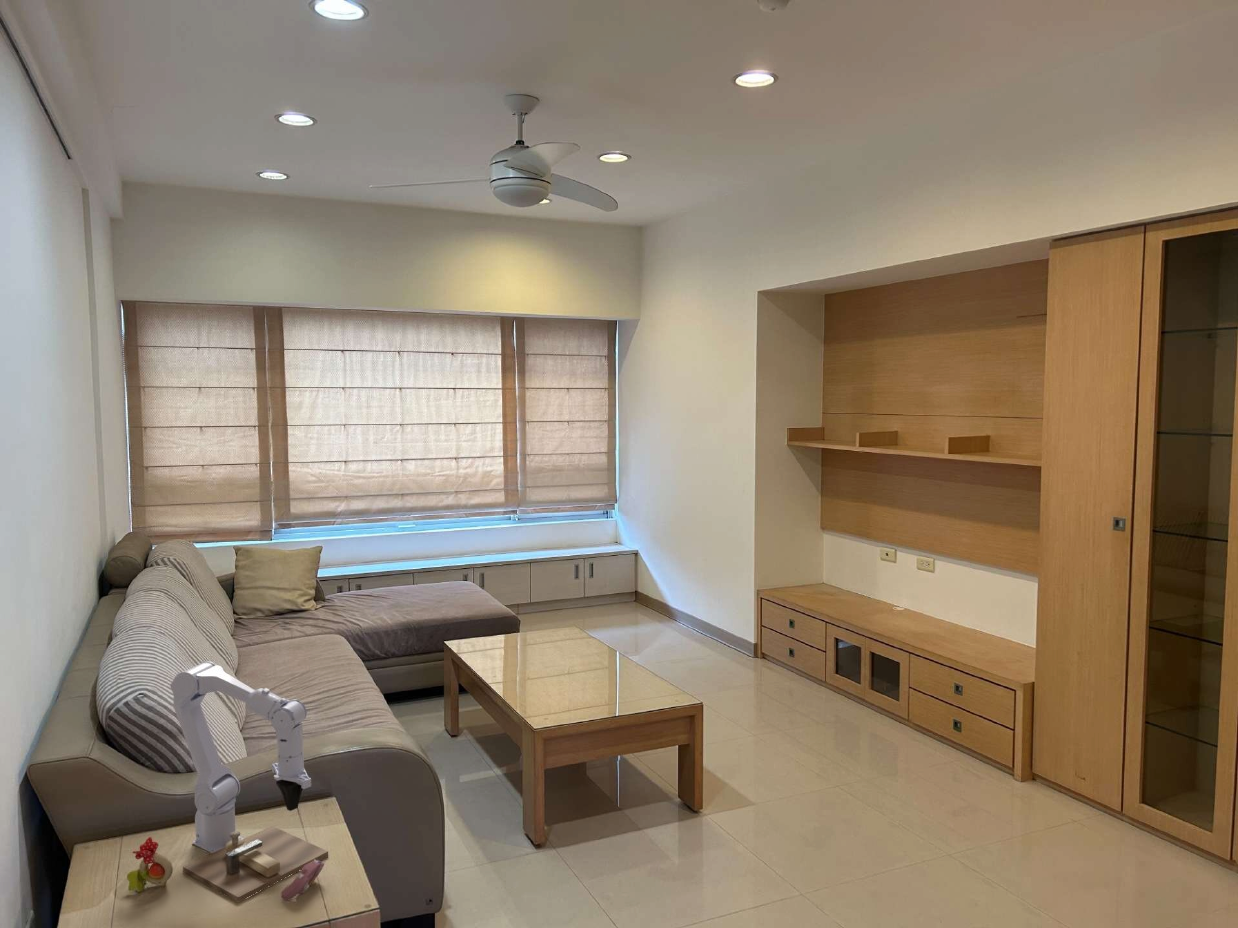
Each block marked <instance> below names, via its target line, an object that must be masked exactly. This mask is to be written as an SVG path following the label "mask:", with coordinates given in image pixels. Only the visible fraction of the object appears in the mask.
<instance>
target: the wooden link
mask: <svg viewBox="0 0 1238 928" xmlns="http://www.w3.org/2000/svg"><path fill="white" fill-rule="evenodd" d="M238 836H239V837H241V831H239V830H236V831H234V832H232V833H230V837H231V838H232V841H230V842H228V843H227V844H226V853H229V852H231V851H233V850H235V849H237V848H239V847H241V846H244V845H246V843H245V841H244V840H242V839H238ZM239 861H241V862H242V863H244V864H246V865H247V866H249V867H251V868H252V869H254V870H256V871H258V872H259V873H261V874H263V875H264V876H266V877H270V876H272V875H274V874H276V873H278V872H280V862H278V861H277V860H275V859H273V858H271V857H269V856H268V855H266V854H264V853H262V852H260V851H259V850H257V849H255V850H253V851H250V852H248V853H246V854H244V855H242V856H240V857H239Z"/></svg>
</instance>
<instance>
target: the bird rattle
mask: <svg viewBox="0 0 1238 928" xmlns="http://www.w3.org/2000/svg"><path fill="white" fill-rule="evenodd" d="M159 846H160V845H159V843H158V842H157V841H153V837H152V836H149V837H148V838H147V839H146V840H145V842H144V843H143V844H140V845H139V850H134V851H132V854H135V856H134V858H135V859H136V860H140V859H141V861H140V863H139V869H134V870H132V871H130V872H128V873H127V875H126V879H127V881H128V882H129V883H128V891H130V892H131V891H133V890H135V889H136V891H138V892H139V893H141V892H143V891H144V889H145V886H144V884H146V883H147V882H148V883H149V884H152V885H156V886H157V885H158V886H160V887H165V886H166V885H167V882H168V881H169V880H170V879H171V877H172V875H173V871H174V870H173V869H174V868H173V864H172V862H171V861H170V860H169V858H168V857H166V856H165V855H163V854H160V853H157V850H158V847H159Z"/></svg>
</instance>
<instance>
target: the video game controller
mask: <svg viewBox="0 0 1238 928" xmlns="http://www.w3.org/2000/svg"><path fill="white" fill-rule="evenodd" d="M324 866H325V863H324V862H322V860H320V861H317V860H315V859H314V861H312V862H310V863H308V864H306V865H305V866H303V868H302V869H301V871H299V872H298V874H297V876H295V878H294V879H293V881H292V882H291V883H290V884H289V885H288V886H286V887H284V888H283V890H282V891H281V893H280V897H281V898H282V900H286V901H288V900H289V901H290V900H292V899H294V898H295V897H296V896H298V895H300V896H302V895H304V894H305V892H306V891H307V890H308V889H309V888H311V886H312V885H314V884H315V880H316V879H317V877H318V876H319V874H321V872H322V870H323V868H324Z"/></svg>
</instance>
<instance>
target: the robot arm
mask: <svg viewBox="0 0 1238 928" xmlns="http://www.w3.org/2000/svg"><path fill="white" fill-rule="evenodd" d="M169 686H170V689H171V692H172V695H173V709H174V712H175V715H176V717H177V720H178V722H179V725H180V728H181V731H182V734H183V737H184V740H185V743H186V746H187V748H188V750H189V755H190V757H191V759H192V762H193V765H194V767H195V770H196V773H197V777H196V779H195V781H194V784H193V787H192V788H193V789H192V790H193V791H194V805H195V807H196V809H197V810H196V813H195V816H194V826H195V827H194V828H195V840H193V841H192V844H193V845H195V846H197V847H199V848H201V849H203V850H204V851H206V852H209V853H210V854H212V853H214V852H216V851H218V850H220V849H223V848H225V847H226V844H227V843H228V842H230V841H232V838H231V837H230V833H232V832H234V831H237V830H236V812H235V811H236V810H235V809H236V807H235V803H236V802H237V801H236V797H237V796H238V795H239V794H240V791H241V783H240V781H239V779H238V778H237V777H236V776H235V774H234V772H233V771H232V768H231V767H229V766H227V765H224V764H222V762H221V758H220V755H219V753H218V751H217V747H216V744H215V741H214V738H213V735H212V733H211V730H210V728H209V724H208V722H207V720H206V717H205V714H204V711H203V708H202V706H201V705H202V702H203V700H204V699H205V697H206V695H207V694H208V693H209V694H210V693H215V692H218V693H221V694H224V695H226V696H228V697H231V698H233V699H235V700H237V701H240V702H242V703H245V704H246V708H247V710H248V711H250V712H251V713H252V714H256V715H257V716H259V717H261V718H263V719H265V720H267V721H269V722H270V723H271V726H272V727H273V729H274V731H275V736H276V747H277V748H276V749H277V750H276V751H277V762H275V763H272V764H271V772H272V773H273V774H274V775H273V779H274V780H276V786H277V787H278V788H279V791H280V792H281V794H282V797H283V800H284V804H285V807H286V810H287V811H289V812H291V811H294V810H297V809H298V807H299V804H300V799H301V795H302V792H303V790H305V789H308V788H310V787H312V778H311V777H309V775H308V773H307V771H306V769H305V764H304V762H305V761H304V739H303V737H304V736H303V735H304V734H303V729H304V728H303V722H304V720H305V719H306V718H307V714H308V712H307V707H306V706H305V704H304V703H303V702H301V701H300V700H299V699H296V698H295V699H290V700H289V699H287V698H286V697H283V698H282V697H281V696H279V695H277V694H275V693H274V692H271V689H269V688H267V687H265V688H263V687H261V688H257V689H253V688H252V687H250V686H249V685H247V684H245V683H244V682H242V681H241V680H238V679H237V678H235V677H234V676H232V675H230V674H228V673H227V672H225V670H224V669H223V666H222V665H218V664H216V663H215V662H213V661H210V660H207V661H206V660H205V661H202V662H200V663H199V664H197V665H195V666H193V667H191V668H188V669H186V670H184V671H181V672H179V673H177V674H176V675H175V677H174V678H173V679H172V682H171V683H170V685H169ZM238 839H244V837H242V836H238Z"/></svg>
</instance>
